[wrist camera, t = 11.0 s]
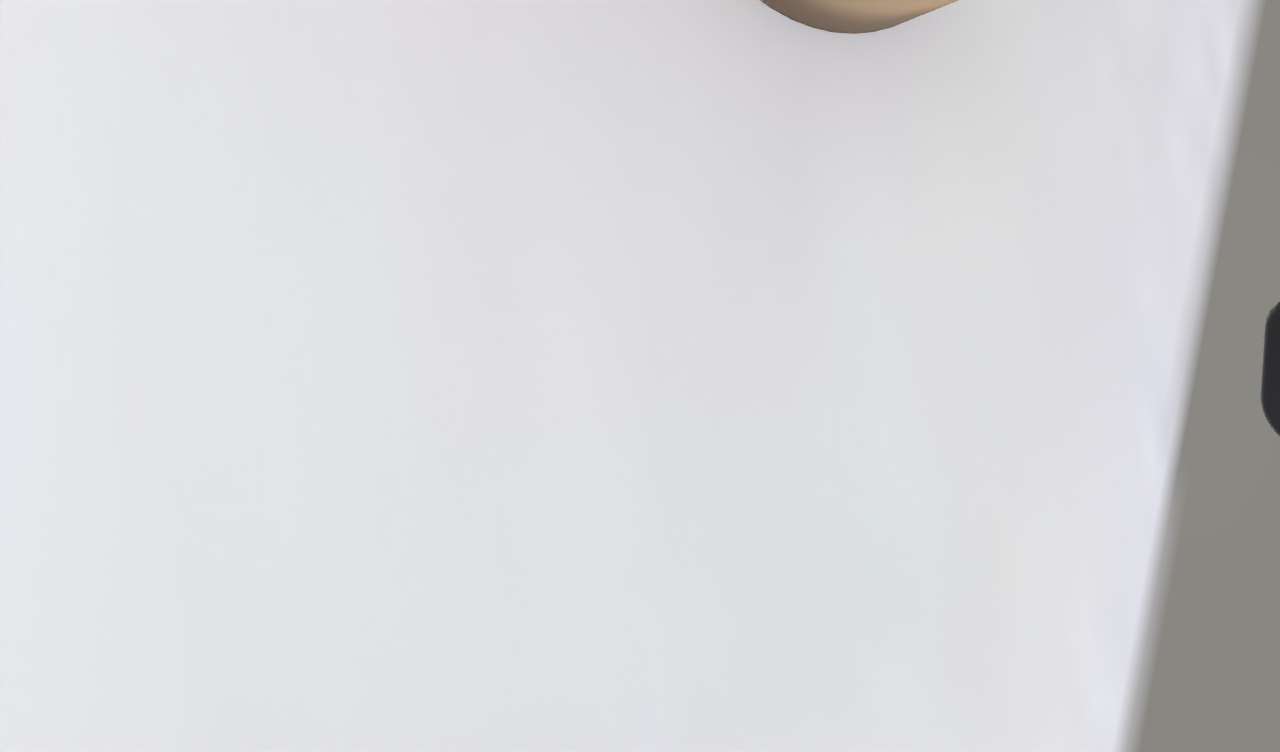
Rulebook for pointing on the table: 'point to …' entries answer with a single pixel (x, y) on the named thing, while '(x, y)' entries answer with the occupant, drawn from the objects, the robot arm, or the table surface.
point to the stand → (854, 13)
